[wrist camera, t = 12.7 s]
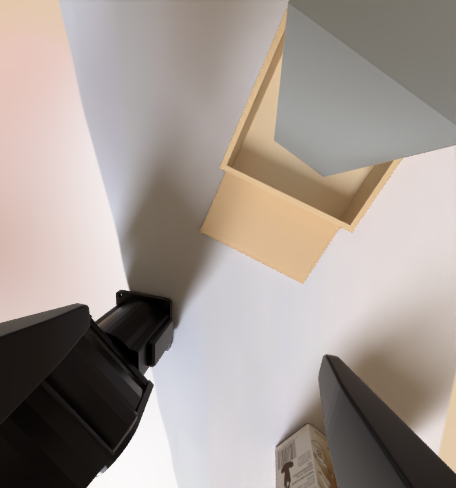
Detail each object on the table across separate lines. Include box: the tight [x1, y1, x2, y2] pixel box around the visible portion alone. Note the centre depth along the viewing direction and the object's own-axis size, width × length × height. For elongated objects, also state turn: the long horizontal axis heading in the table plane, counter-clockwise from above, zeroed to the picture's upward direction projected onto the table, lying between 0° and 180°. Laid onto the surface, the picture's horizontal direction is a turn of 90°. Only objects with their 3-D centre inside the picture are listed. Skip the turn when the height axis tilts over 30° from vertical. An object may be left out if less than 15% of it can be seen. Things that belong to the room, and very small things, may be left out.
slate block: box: [274, 0, 456, 177], centre depth 10 cm, size 5×4×13 cm
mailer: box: [200, 6, 403, 284], centre depth 16 cm, size 11×17×3 cm, turn 155°
